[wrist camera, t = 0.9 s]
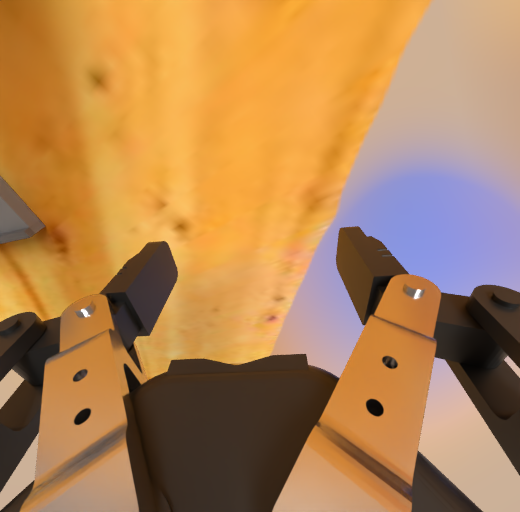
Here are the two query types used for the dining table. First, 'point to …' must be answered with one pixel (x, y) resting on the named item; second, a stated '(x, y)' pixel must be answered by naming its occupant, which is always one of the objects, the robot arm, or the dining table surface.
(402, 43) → the dining table surface
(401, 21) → the dining table surface
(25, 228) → the fader board
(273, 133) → the dining table surface
